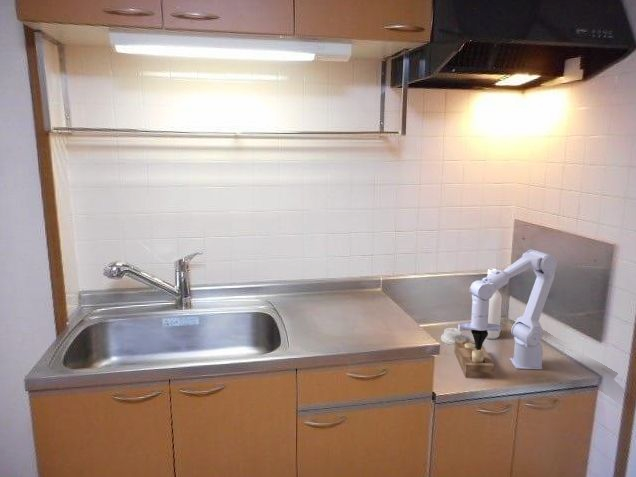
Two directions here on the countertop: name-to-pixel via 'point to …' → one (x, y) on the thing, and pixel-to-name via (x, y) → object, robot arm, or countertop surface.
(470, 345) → the peg
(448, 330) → the mechanical component
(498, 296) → the white milk bottle
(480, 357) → the peg
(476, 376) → the collar bar
